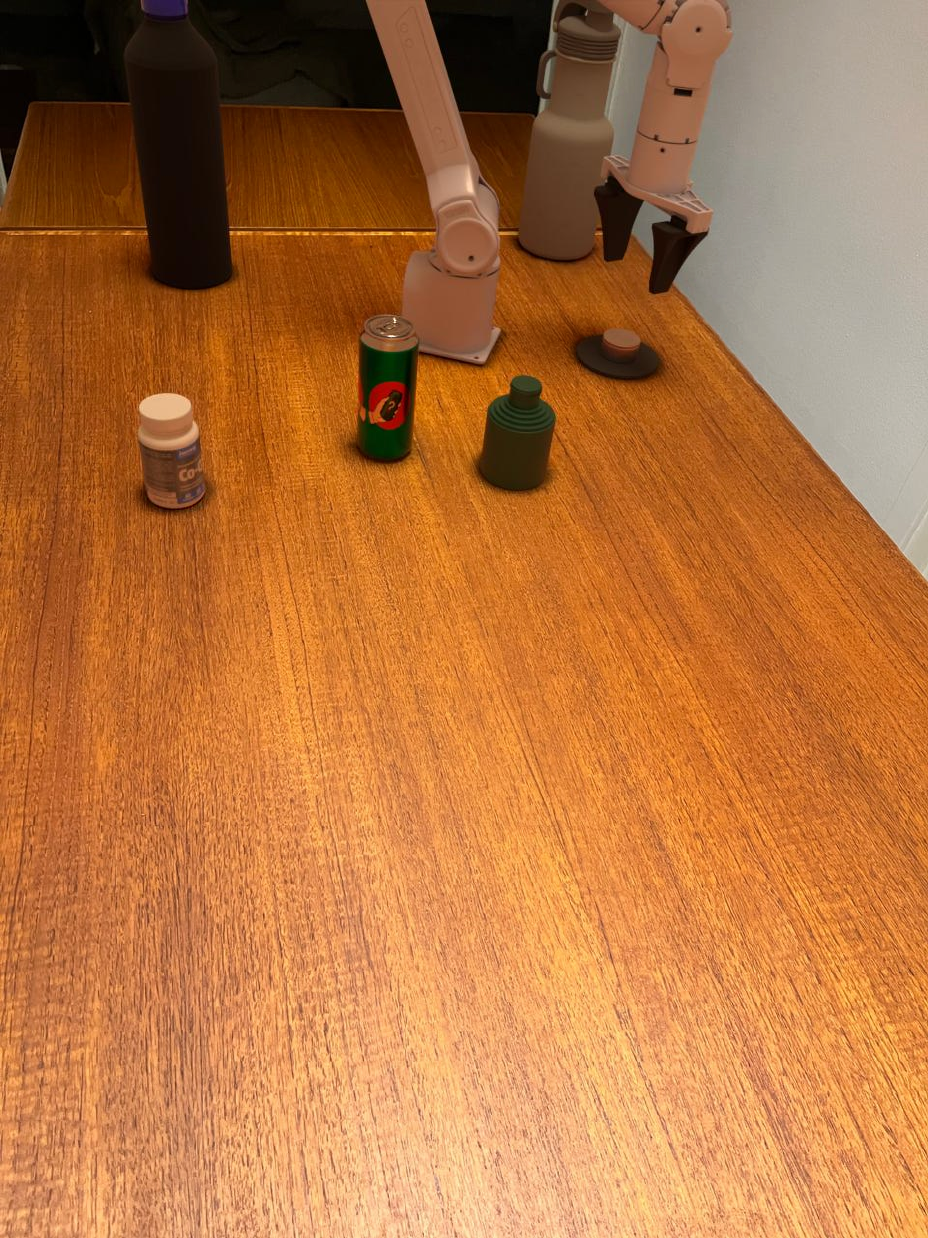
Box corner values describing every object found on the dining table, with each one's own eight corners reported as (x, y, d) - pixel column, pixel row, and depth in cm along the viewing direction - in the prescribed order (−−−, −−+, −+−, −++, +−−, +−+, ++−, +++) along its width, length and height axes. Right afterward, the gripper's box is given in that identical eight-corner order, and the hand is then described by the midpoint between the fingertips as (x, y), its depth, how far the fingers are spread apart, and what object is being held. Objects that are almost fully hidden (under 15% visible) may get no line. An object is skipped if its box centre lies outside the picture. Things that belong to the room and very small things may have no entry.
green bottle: (473, 481, 86) (484, 392, 80) (488, 445, 91) (499, 359, 85) (538, 496, 86) (554, 408, 80) (551, 459, 90) (567, 373, 84)
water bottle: (502, 232, 127) (533, -19, 107) (567, 226, 130) (608, -19, 111) (539, 265, 120) (579, 5, 101) (606, 258, 124) (657, 5, 105)
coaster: (569, 368, 103) (569, 365, 102) (583, 330, 109) (583, 327, 109) (653, 386, 102) (654, 383, 101) (662, 347, 108) (663, 344, 108)
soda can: (423, 449, 89) (432, 329, 81) (383, 470, 86) (389, 347, 78) (385, 425, 92) (390, 306, 83) (345, 445, 89) (346, 323, 80)
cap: (614, 366, 103) (618, 349, 102) (592, 348, 105) (596, 331, 104) (643, 359, 105) (648, 342, 103) (621, 342, 107) (625, 325, 106)
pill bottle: (192, 514, 79) (181, 427, 74) (137, 503, 80) (122, 415, 74) (214, 482, 83) (205, 395, 77) (161, 471, 83) (149, 384, 77)
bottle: (248, 271, 112) (231, -13, 93) (194, 296, 106) (163, 0, 87) (191, 248, 115) (162, -32, 95) (135, 272, 109) (93, -21, 90)
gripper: (752, 157, 87) (711, 300, 96) (652, 105, 96) (623, 241, 105) (692, 164, 84) (656, 311, 93) (595, 110, 93) (570, 249, 102)
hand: (635, 275), depth 99 cm, fingers open, 7 cm apart
